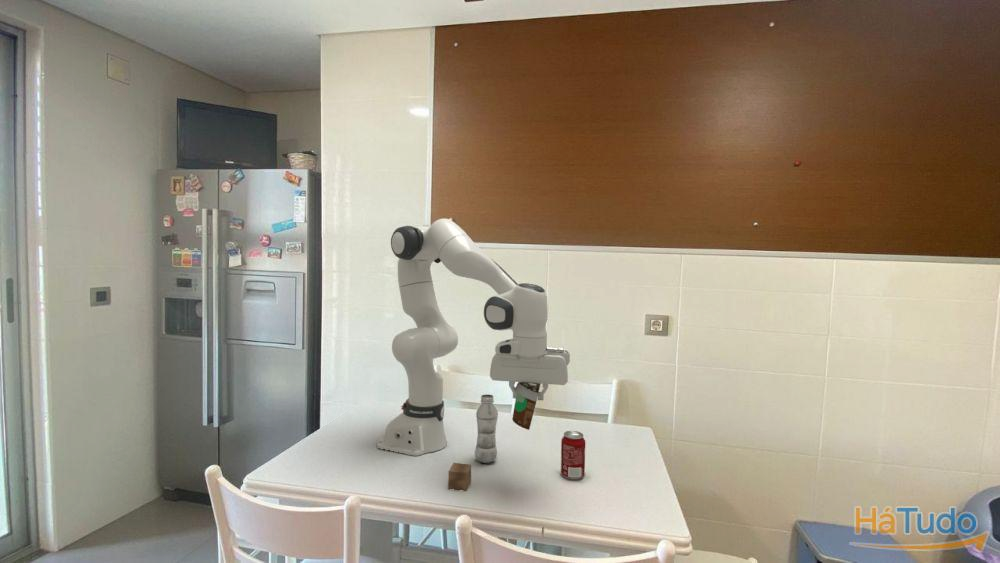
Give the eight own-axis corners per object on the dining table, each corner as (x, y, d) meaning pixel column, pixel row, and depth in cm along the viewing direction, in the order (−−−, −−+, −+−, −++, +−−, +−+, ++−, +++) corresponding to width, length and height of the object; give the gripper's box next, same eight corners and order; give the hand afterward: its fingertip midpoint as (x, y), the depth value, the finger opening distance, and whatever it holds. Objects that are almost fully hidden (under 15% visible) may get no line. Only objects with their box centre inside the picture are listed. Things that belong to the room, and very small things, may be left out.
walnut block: (448, 489, 119) (448, 471, 118) (453, 480, 124) (453, 462, 123) (466, 491, 118) (466, 472, 118) (470, 482, 123) (471, 464, 122)
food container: (511, 409, 124) (519, 374, 123) (532, 415, 123) (541, 380, 122) (504, 425, 112) (514, 386, 111) (528, 432, 111) (538, 393, 110)
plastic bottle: (475, 456, 139) (476, 392, 138) (497, 456, 139) (498, 393, 138) (473, 465, 133) (475, 399, 132) (496, 466, 132) (497, 399, 132)
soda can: (584, 482, 124) (585, 440, 123) (559, 479, 125) (560, 437, 124) (584, 471, 130) (585, 431, 130) (561, 468, 132) (562, 428, 131)
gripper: (570, 346, 117) (568, 398, 118) (493, 342, 121) (492, 392, 121) (569, 351, 111) (568, 405, 112) (489, 346, 115) (488, 399, 115)
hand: (528, 398), depth 117 cm, fingers closed on food container, 5 cm apart
